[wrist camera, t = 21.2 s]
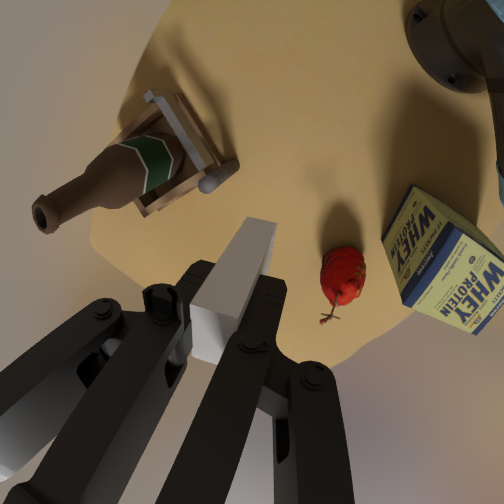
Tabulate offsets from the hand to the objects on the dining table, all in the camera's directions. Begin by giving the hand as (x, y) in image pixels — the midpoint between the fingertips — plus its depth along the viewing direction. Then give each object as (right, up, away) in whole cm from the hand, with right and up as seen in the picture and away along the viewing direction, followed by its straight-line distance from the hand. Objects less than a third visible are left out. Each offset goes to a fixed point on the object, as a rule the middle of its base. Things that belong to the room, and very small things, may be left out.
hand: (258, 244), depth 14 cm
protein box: (+28, +3, +22) cm, 36 cm away
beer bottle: (-13, +14, +25) cm, 32 cm away
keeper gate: (-8, +15, +17) cm, 24 cm away
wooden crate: (-12, +15, +26) cm, 32 cm away
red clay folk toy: (+14, -2, +29) cm, 32 cm away
